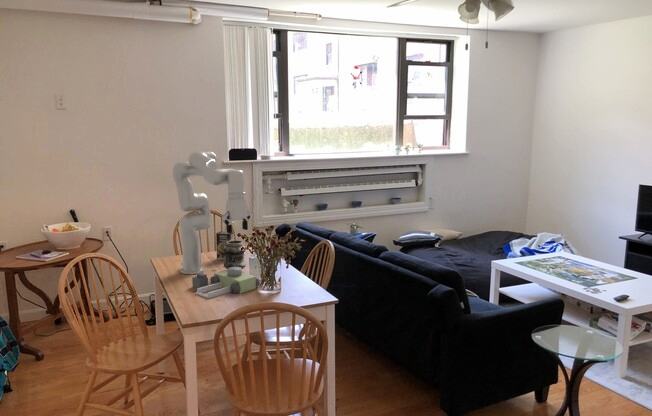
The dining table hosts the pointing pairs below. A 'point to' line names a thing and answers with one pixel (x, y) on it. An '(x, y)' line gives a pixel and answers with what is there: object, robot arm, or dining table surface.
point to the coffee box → (222, 243)
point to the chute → (200, 280)
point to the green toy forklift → (229, 283)
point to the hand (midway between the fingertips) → (237, 231)
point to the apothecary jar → (234, 254)
